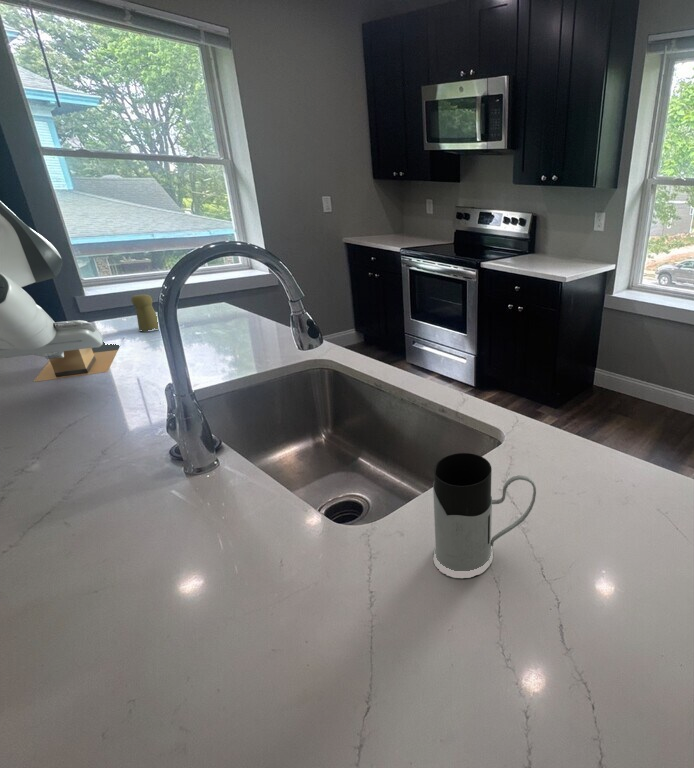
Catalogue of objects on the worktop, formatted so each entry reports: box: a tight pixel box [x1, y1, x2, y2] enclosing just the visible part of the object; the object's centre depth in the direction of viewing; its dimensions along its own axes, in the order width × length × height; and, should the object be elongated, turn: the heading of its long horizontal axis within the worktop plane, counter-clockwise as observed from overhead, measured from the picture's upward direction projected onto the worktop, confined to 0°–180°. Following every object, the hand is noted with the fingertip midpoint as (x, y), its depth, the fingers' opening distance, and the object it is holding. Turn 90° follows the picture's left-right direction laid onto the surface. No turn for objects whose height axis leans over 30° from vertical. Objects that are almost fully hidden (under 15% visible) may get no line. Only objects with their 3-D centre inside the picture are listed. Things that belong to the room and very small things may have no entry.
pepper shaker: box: [131, 293, 158, 331], centre depth 145 cm, size 6×6×11 cm
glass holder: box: [432, 452, 537, 571], centre depth 64 cm, size 9×14×15 cm, turn 93°
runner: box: [32, 342, 121, 383], centre depth 126 cm, size 14×29×1 cm, turn 30°
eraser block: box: [48, 348, 96, 377], centre depth 118 cm, size 6×10×8 cm, turn 30°
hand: (55, 355), depth 108 cm, fingers closed
